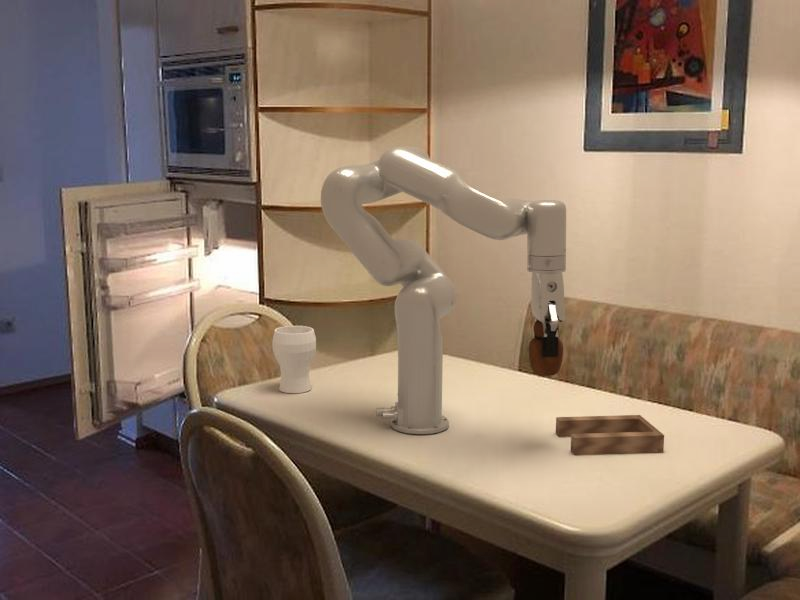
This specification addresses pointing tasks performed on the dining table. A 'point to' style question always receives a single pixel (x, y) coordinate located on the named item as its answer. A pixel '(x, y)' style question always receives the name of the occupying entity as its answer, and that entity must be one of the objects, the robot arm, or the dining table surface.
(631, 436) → the u rest
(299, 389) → the cup
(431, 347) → the robot arm
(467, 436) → the dining table surface
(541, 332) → the wooden figurine
